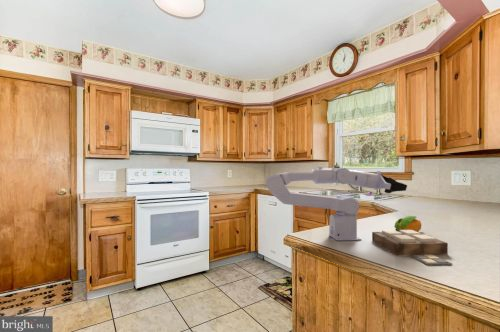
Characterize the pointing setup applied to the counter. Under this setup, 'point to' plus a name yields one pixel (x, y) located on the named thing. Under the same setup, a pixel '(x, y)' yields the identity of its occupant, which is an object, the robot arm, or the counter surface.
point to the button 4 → (423, 238)
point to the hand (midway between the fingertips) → (400, 185)
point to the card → (430, 260)
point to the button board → (410, 246)
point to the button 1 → (390, 233)
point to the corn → (408, 224)
